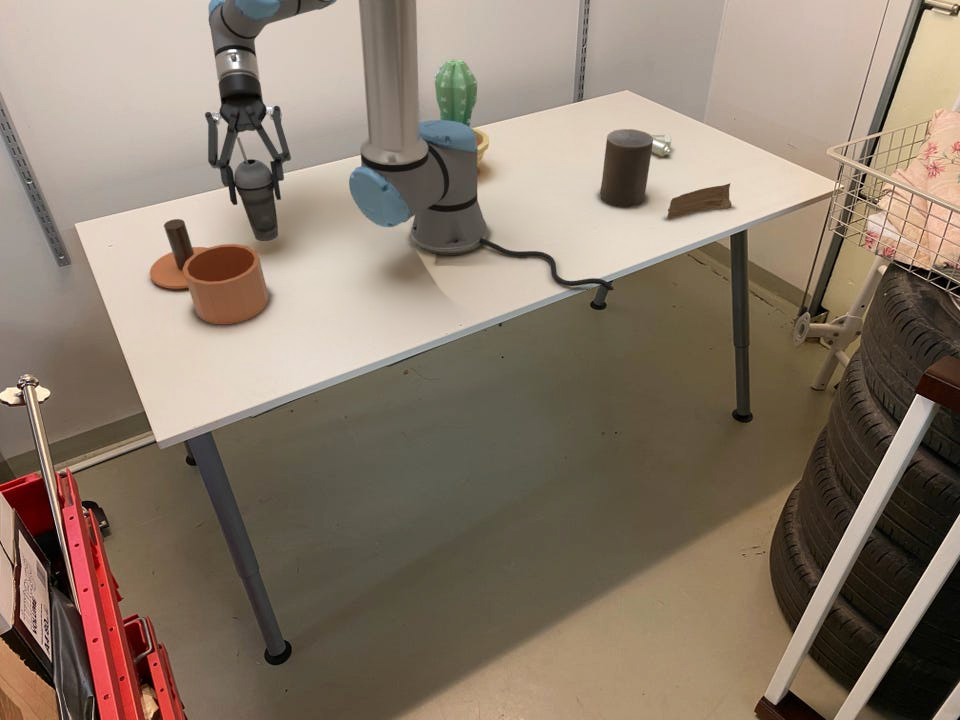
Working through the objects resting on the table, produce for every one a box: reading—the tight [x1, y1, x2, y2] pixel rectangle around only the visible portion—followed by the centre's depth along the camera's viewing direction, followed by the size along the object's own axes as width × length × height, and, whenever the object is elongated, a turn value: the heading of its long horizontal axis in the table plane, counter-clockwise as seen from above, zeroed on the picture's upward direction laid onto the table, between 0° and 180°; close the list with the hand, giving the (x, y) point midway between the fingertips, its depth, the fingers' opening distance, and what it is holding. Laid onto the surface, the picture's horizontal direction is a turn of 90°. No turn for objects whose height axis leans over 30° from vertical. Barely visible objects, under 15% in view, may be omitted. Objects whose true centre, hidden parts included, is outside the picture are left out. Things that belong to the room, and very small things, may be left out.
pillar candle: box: [599, 128, 653, 208], centre depth 155 cm, size 10×10×15 cm
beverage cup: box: [233, 136, 279, 242], centre depth 136 cm, size 7×7×20 cm
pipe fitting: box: [650, 134, 672, 158], centre depth 176 cm, size 8×4×7 cm
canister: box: [183, 243, 269, 325], centre depth 127 cm, size 13×13×8 cm
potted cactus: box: [433, 58, 490, 167], centre depth 161 cm, size 15×15×25 cm
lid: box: [149, 218, 207, 290], centre depth 135 cm, size 14×14×10 cm
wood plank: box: [666, 182, 732, 220], centre depth 152 cm, size 15×2×5 cm, turn 113°
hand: (256, 199), depth 134 cm, fingers closed on beverage cup, 7 cm apart
